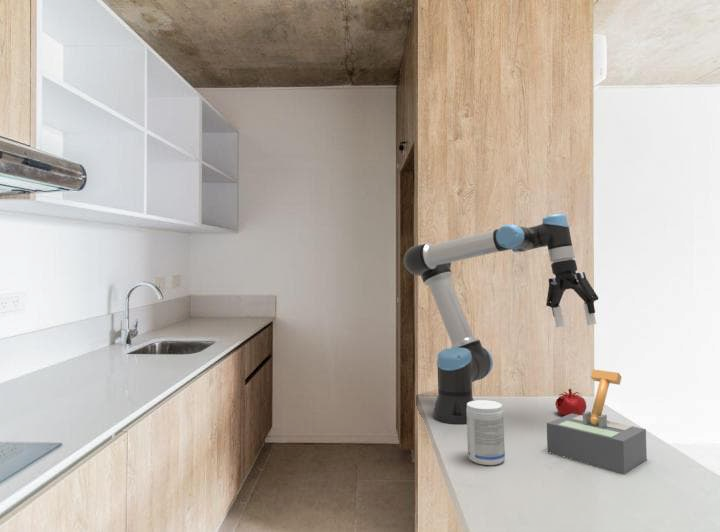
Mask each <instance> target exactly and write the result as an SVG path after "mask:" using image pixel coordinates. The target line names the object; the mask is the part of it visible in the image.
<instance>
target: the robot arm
mask: <svg viewBox="0 0 720 532" xmlns="http://www.w3.org/2000/svg"><path fill="white" fill-rule="evenodd" d="M545 247H547V251H548V257H549V262H551V265H550V266H551V272H552V274H553V275H554V276H555V277H551V278H548V289H547V290H548V291H547V296H546V305H545V306H546V307H550V308H551V311H552V315H553V317H554V321H555V326H556V328H561V327H562V328H563V327H565V322H564V316H563V312H562V307H561V305H560V303H561V301H562V298H563V295H564V293H565V291H566V290H573V291H574V292H575V293H576V294H577V295H578V296H579V298H580V299H582V301H583V302H584V303H583V308H584V313H585V318H586V323H587V326H592V325H597V321H596V315H595V313H596V309H595V305H594V302H596V301H599V296H598V295H597V293H596V292H595V290H594V288H593V287H592V285H591V284H590V282H589V280H588V279H587V277H586V273H585V272H584V271H583V272H582V271H581V272H576V271H578V266H577V262H576V260H575V253H574V251H575V250H574V247H573V243H572V238H571V232H570V226H569V223H568V219H567V216H566V215H565V214H563V213H555V214H550V215H548V216H544V217H543V218H542V223H541V224H538V225H535V226H534V225H533V226H531V227H525V226H519V225H516V224H512V223H510V224H504V225H501V226H500V227H499V228H497V229H495V228H494V229H493V230H488V231H484V232H480V233H476V234H472V235H467V236H463V237H459V238H454V239H451V240H446V241H443V242H439V243H435V244H432V243H429V242H428V243H424V244H418V245H412V246H411V247H409V248H408V249H407V251H406V252H405V254H404V257H403V264H404V265H403V266H404V267H405V269H406V270H407V271H408V272H409V273H410V274H412V275H415V276H418V277H419V276H421V280H422V282H423V285H425V286H427V287H429V289H430V292H431V295H432V296H433V299H434V302H435V304H436V307H437V310H438V312H439V314H440V316H441V320H442V322H443V325H444V328H445V329H446V333H447V335H448V338H449V340H450V343H451V346H450V348H444V349H442V350H440V351H439V352H438V354H437V360H436V365H437V366H436V367H437V391H438V392H437V398H436V401H435V404H434V408H433V418H434V419H435V420H436V421H439V422H442V423H446V424H453V425H455V424H457V425H459V424H467V412H466V411H467V410H466V409H467V403H468V402H470V401H475V400H474V397H473V382H476V381H480V380H482V379H484V378H485V377H487V376H488V375H489V374H490V373H491V371H492V369H493V365H494V361H493V357H492V354H491V353H490V351H489V350H488V348H487V349H486V348H485V347H483V345H482V343H481V340H480V339H479V338H478V337H475V336H474V335H473V332H472V330H471V326H470V325H469V322H468V319H467V317H466V314H465V312H464V310H463V306H462V304H461V302H460V300H459V298H458V295H457V293H456V290H455V288H454V284H453V283H452V280H451V277H452V275H453V272H452V270H451V266H452V263H454V262H458V261H462V260H463V261H464V260H468V259H472V258H477V257H480V256H481V257H482V256H486V255H490V254H495V253H498V252H499V253H500V252H505V251H509V250H512V251H511V252H513V253H521V252H527V251H530V250H535V249H538V248H545Z"/></svg>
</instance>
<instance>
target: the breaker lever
mask: <svg viewBox="0 0 720 532" xmlns="http://www.w3.org/2000/svg"><path fill="white" fill-rule="evenodd" d="M590 378H591V379H592V380H593V382H599V383H598V386H597V390H596V395H595V398H594V402H593V406H592V410H591V418H590V422H591V423H592V424H593V425H598V424H599V416H601V415H603V411H604V407H605V403H606V398H607V394H608V390H609V386H610V384H612V385H621V381H622V376H621V374H620V372H617V371H616V372H615V371H607V370H600V369H592V371H591V374H590Z"/></svg>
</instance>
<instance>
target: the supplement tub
mask: <svg viewBox="0 0 720 532" xmlns="http://www.w3.org/2000/svg"><path fill="white" fill-rule="evenodd" d="M466 410H467V411H466V412H467V423H466V435H467V436H466V437H467V457H468V459H469V460H470V461H472V462H474V463H475V464H478V465H483V466H495V465H500V464H502V463H503V462H505V459H506V457H505V456H506V452H505V429H504V428H505V425H504V424H505V423H504V410H503V404H502V403H501V402H498V401H494V400H486V399H483V400H481V399H480V400H479V399H478V400H474V401H470V402H468V403H467V409H466Z"/></svg>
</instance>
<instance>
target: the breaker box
mask: <svg viewBox="0 0 720 532" xmlns="http://www.w3.org/2000/svg"><path fill="white" fill-rule="evenodd" d="M591 413H592V411H589V410H588V411H585V413H583V415H577V414H572V413H571V414H569V415H566V416H561V417H558V418H556V419H554V420H551V421H549V422H546V446H547V453H549V452H551V453H550V454H552V453H554V454H553V455H556V454H558V455H557V456H559V455H561V456H560V457H563V456H565V457H564V458H566V457H568V458H567V459H569V458H572V459H571V460H573V459H575V460H574V461H576V460H578V461H577V462H580V461H582V462H581V463H583V462H585V463H584V464H587V463H588V465H590V464H591V466H594V465H595V466H594V467H597V466H598V468H601V469H604V468H605V469H604V470H608V471H612V472H615V473H618V474H621V475H625V474H627V473H629V472H630V471H632V470H633V469H635V468H636V467H639V466H640V465H641V464H642V463H644V462H646V461H647V460H648V459H647V458H648V457H647V452H648V451H647V429H646V428H642V427H637V426H633V425H629V424H628V425H627V424H624V423H619V422H614V421H610V420H608V419H607V417H608V416H607V415H608V414H604V413H602V415H601V416H599V424H598V425H593V424H592V423H591V422H590V418H591Z"/></svg>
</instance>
